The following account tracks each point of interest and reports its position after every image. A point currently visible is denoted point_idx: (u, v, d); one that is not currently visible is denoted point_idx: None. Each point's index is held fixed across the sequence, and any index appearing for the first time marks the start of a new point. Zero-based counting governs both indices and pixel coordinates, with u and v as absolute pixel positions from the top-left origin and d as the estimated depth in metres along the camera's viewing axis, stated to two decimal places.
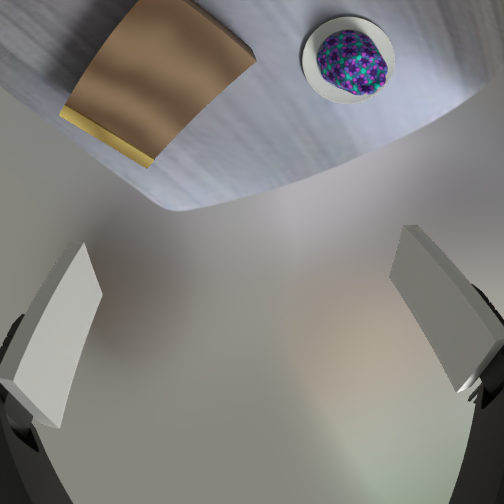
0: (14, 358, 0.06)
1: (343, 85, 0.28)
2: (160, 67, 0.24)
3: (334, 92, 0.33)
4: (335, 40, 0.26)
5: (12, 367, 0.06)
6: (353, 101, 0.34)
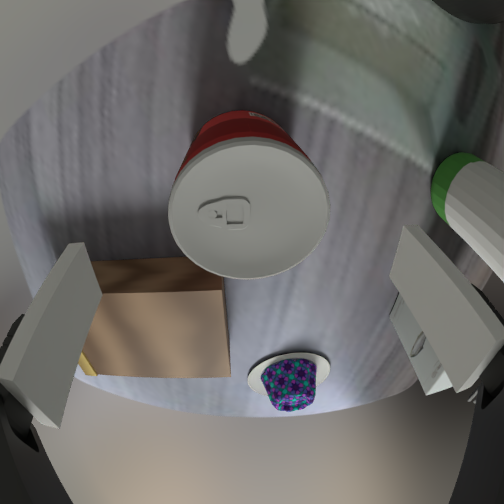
0: (14, 358, 0.06)
1: (272, 403, 0.37)
2: (158, 342, 0.28)
3: (261, 387, 0.42)
4: (291, 367, 0.38)
5: (12, 367, 0.06)
6: None
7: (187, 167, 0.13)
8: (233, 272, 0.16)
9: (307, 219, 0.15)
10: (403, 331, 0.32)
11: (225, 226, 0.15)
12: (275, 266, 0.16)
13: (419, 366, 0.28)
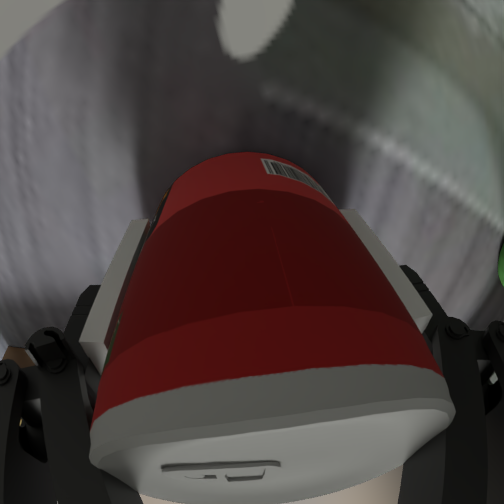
0: (100, 321, 0.07)
1: None
2: None
3: None
4: None
5: (99, 330, 0.07)
6: None
7: (105, 441, 0.03)
8: (242, 503, 0.07)
9: (391, 450, 0.06)
10: None
11: (224, 483, 0.05)
12: (315, 492, 0.07)
13: None
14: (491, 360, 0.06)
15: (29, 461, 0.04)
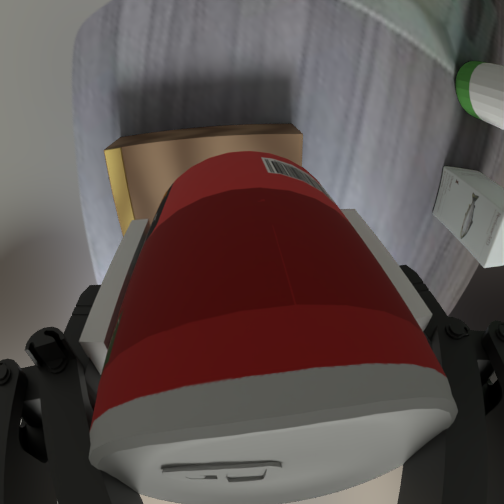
0: (100, 321, 0.07)
1: None
2: None
3: None
4: None
5: (99, 330, 0.07)
6: None
7: (105, 441, 0.03)
8: (242, 503, 0.07)
9: (393, 450, 0.06)
10: (450, 217, 0.32)
11: (225, 483, 0.05)
12: (316, 492, 0.07)
13: (472, 242, 0.28)
14: (491, 360, 0.06)
15: (29, 461, 0.04)
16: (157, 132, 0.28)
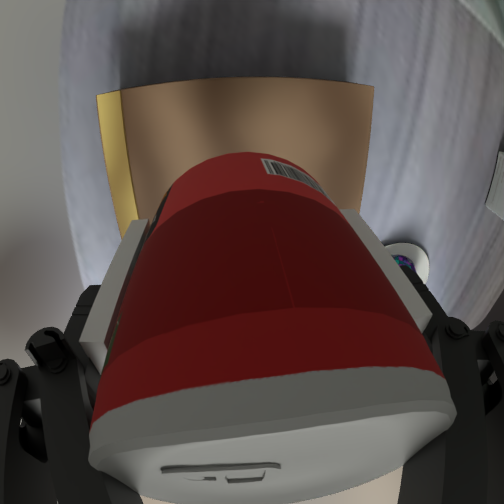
0: (100, 321, 0.07)
1: None
2: None
3: None
4: None
5: (99, 330, 0.07)
6: None
7: (104, 443, 0.03)
8: None
9: (392, 452, 0.06)
10: None
11: (224, 484, 0.05)
12: (315, 493, 0.07)
13: None
14: (491, 361, 0.06)
15: (29, 461, 0.04)
16: None
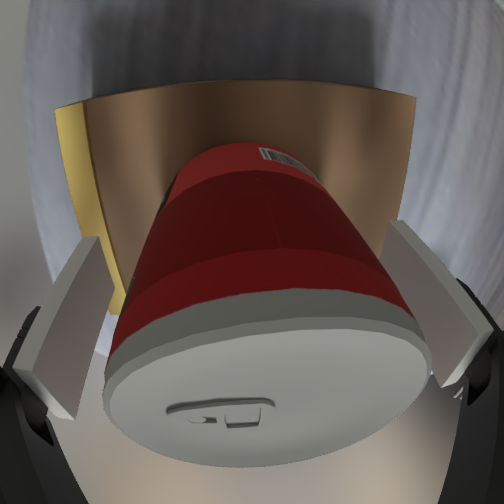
0: (32, 349, 0.06)
1: None
2: None
3: None
4: None
5: (30, 357, 0.06)
6: None
7: (122, 365, 0.05)
8: (240, 463, 0.08)
9: (378, 403, 0.07)
10: None
11: (224, 430, 0.07)
12: (309, 452, 0.08)
13: None
14: None
15: None
16: (154, 86, 0.15)
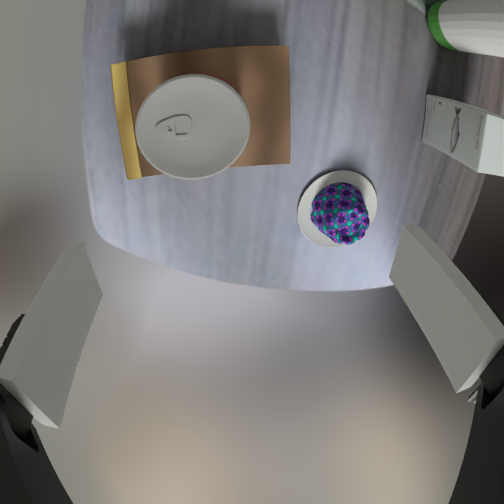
0: (14, 358, 0.06)
1: (329, 231, 0.38)
2: None
3: (315, 234, 0.43)
4: (334, 190, 0.38)
5: (12, 367, 0.06)
6: (327, 245, 0.44)
7: (147, 96, 0.17)
8: (183, 173, 0.21)
9: (234, 128, 0.19)
10: (438, 137, 0.32)
11: (175, 136, 0.19)
12: (214, 167, 0.21)
13: (462, 152, 0.28)
14: None
15: None
16: None
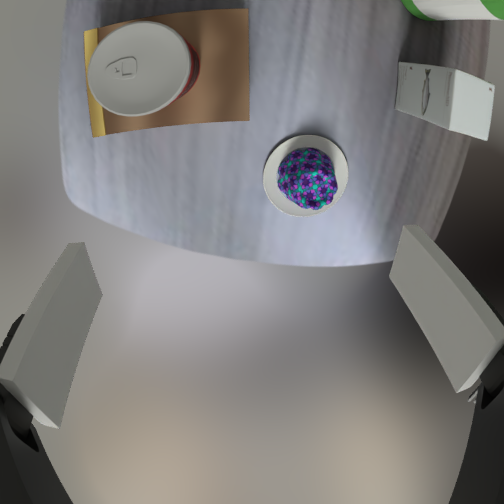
0: (14, 358, 0.06)
1: (293, 195, 0.37)
2: None
3: (284, 202, 0.42)
4: (299, 154, 0.37)
5: (12, 367, 0.06)
6: (297, 215, 0.43)
7: (99, 43, 0.16)
8: (126, 110, 0.19)
9: (174, 66, 0.18)
10: (410, 102, 0.31)
11: (121, 77, 0.18)
12: (155, 103, 0.19)
13: (433, 112, 0.27)
14: None
15: None
16: None
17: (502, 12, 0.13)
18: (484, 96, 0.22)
